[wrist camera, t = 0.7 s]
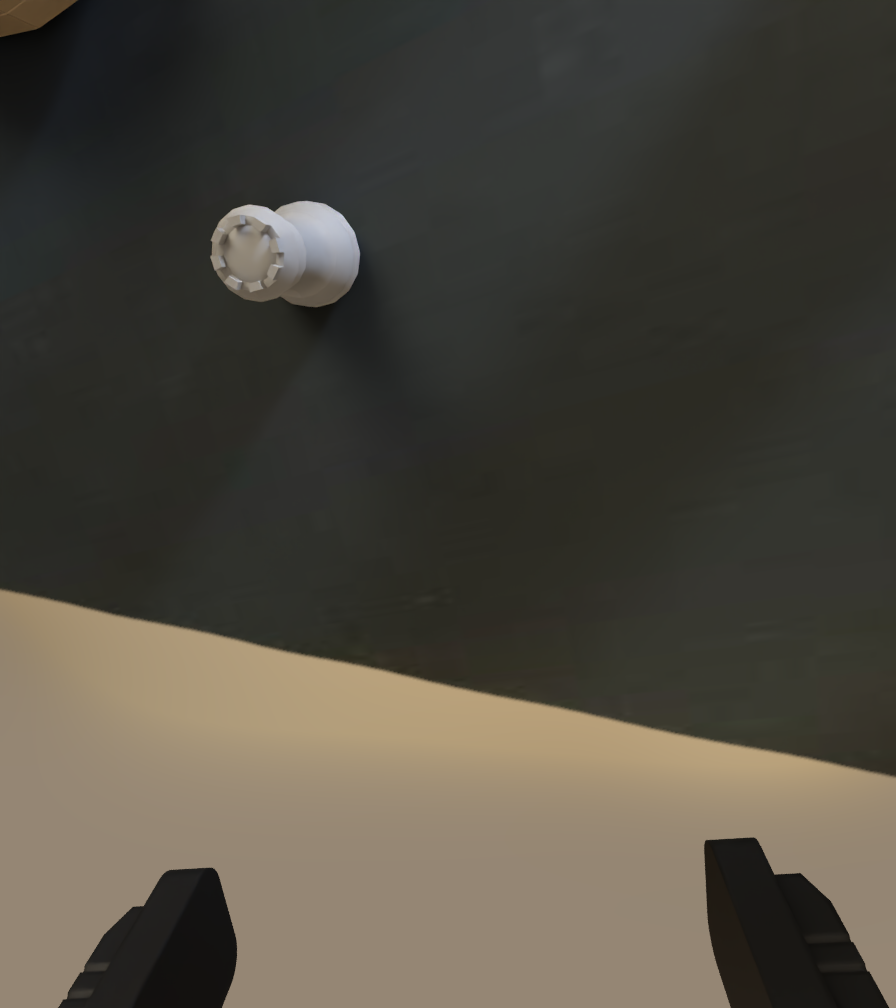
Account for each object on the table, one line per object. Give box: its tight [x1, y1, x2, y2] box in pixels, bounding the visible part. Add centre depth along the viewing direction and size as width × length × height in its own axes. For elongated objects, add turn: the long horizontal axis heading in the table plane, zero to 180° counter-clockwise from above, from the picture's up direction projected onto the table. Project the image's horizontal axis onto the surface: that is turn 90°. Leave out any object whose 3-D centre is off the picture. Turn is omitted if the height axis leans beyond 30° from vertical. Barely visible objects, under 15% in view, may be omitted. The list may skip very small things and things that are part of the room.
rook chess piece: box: [210, 201, 360, 307], centre depth 28 cm, size 4×4×8 cm
